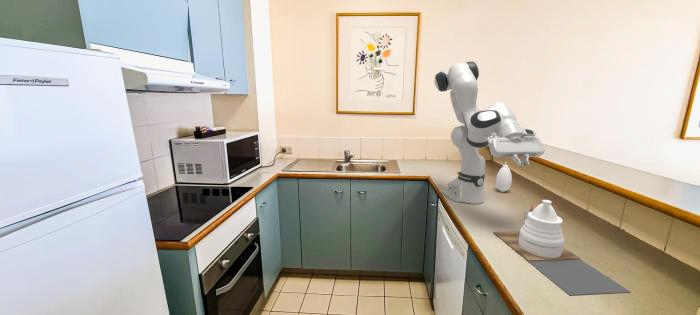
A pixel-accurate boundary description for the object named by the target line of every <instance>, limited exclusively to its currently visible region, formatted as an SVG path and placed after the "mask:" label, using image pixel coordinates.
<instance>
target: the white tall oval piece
mask: <svg viewBox="0 0 700 315" xmlns="http://www.w3.org/2000/svg"><path fill="white" fill-rule="evenodd" d="M512 175H513V174H512V172H511V170H510V167H509V165H507V162H505V163H504V164H503V165H502V167H501V168H500V169H499V170H498V172H497V175H496V177H495V187H496V188H497V190H498V191H499V192H500V193H504V192H506V191H509V189H510V187H511V186H512V182H513V176H512Z"/></svg>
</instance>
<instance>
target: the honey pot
mask: <svg viewBox="0 0 700 315" xmlns="http://www.w3.org/2000/svg"><path fill="white" fill-rule="evenodd" d="M541 202H542V203H540V204H538V205H536V206H537V207H536V208H535V209H534V210H533V211H532V212H529V213H528V218H527V220H526V221H525V222H524V221H523V224H522V226H521V228H520V230H519V231H520V235H519V241H518V244H519V246H520V247H521V248H522V249H523V250H525V251H527V252H529V253H531V254H533V255H537V256H540V257H545V258H557V257H560V256H561V255H562V250H563V247H564V244H565V243H564V242H565V238H564V236H563V234H564V233H563V230H562V226H561V225H562V224H563V223H564V222H563V219H562V218H561V217H560V216H558V215H557V212H556V210H555V209H554V207H553V206H552V200H549V199H542V201H541Z"/></svg>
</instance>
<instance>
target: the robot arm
mask: <svg viewBox="0 0 700 315" xmlns="http://www.w3.org/2000/svg"><path fill="white" fill-rule="evenodd" d="M479 75H480V70H479V66H478V65H477V63H476V62H474V61H473V60H472V61H466V62H455V63H453V64H452V65H451V66H450V67H449V68H447V69H444V70H442V71H439V72H438V73H436V74H435V76H434V86H435V87H436V89H437V90H438V92H439V91H440V92H447V91H450V93H449V95H450V102H451V105H452V108H453V112H454V114H455V117H456V120H457V121H458V122H459V123H461V125H457V126H456V127H454V128H453V129H452V131H451V132H450V139H451V142H452V144H453V145H454V146H455V147H456V148H457V149H458V151H459V153H460V157H461V159H460V160H461V165H460V166H461V167H460V171H456V175H457V177H456V178H455V179H452V180H451V181H449V182H448V183H447V186H446V189H443V190H441V192H442V194H444V196H447V197H448V198H450V199H451V200H453V201H454V202H458V203H466V204H472V205H473V204H475V205H476V204H478V205H479V204H483V203H485V202H486V201H485V194H484V184H485V183H484V182H485V178H486V176H485V170H486V169H485V168H486V159H485V157H484V156H483V155H482V154H480V153H479V149H478V148H481V149H482V148H485V147H489V152H490V154H491V156H492V157H493V158H510V159H511V160H512V161H513V162H514V163H515V164H516V166H517V167H522V166H523V167H527V166H530V161H529V158H534V157H535V158H536V157H537V158H539V157H541V156H542V155H543V154H545V152H546V149H545V147H544V145H543V143H542V141H541V140H540V138H539V137H538V136H537V132H536V131H535V130H532V129H529V128H525V127H523V126H520V124H519V123H518V122H517V117H516V115H515V112H513V110H512V109H511V107H510V106H509V105H508V104H507V103H506V102H502V101H501V102H500V101H497V102H494V103H492V104H490V106H488V107H487V108H486V109H484V110H480V109H479V107H478V105H477V98H478V92H479V87H478V81H477V80H478V79H479ZM520 158H522V159H520Z"/></svg>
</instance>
